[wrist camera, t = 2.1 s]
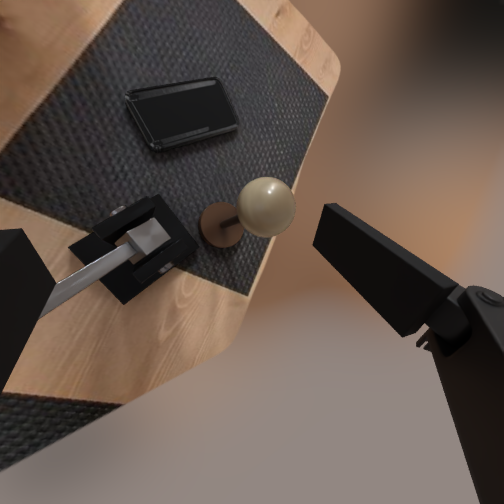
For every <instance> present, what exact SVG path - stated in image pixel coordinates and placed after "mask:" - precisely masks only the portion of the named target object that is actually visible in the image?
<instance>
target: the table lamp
mask: <svg viewBox="0 0 504 504" xmlns="http://www.w3.org/2000/svg"><path fill="white" fill-rule="evenodd" d="M236 208H237V209H236ZM236 208H235V207H234V206H232V205H231V204H228V203H225V202H217V203H213V204H211V205H210V206H208V207H207V208H206V209H205V210H204V211H203V212H202V213H201V215H200V217H199V222H198V228H199V232H200V235H201V237H202V238H203V239H204V241H205V242H206V243H208V244H209V245H211V246H213V247H216V248H226V247H230V246H233V245H234V244H236V243H237V242H238V241H239V240H240V238H241V237H242V234H243V230H244V228H245V229H246V230H247V231H248V232H250V233H251V234H253V235H256V236H259V237H273V236H276V235H278V234H280V233H282V232H283V231H285V230H286V229H287V228H288V227H289V225H290V224H291V222H292V220H293V218H294V215H295V210H296V203H295V198H294V195H293V193H292V191H291V190H290V188H289V187H288V186H287V185H286V184H285V183H283V182H282V181H280V180H278V179H276V178H272V177H261V178H257V179H255V180H253V181H251V182H249V183H248V184H247V185H246V186H245V187H244V188H243V189H242V191H241V192H240V194H239V197H238V200H237V207H236Z"/></svg>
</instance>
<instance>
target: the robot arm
mask: <svg viewBox="0 0 504 504" xmlns="http://www.w3.org/2000/svg"><path fill="white" fill-rule="evenodd" d="M313 246H314V247H315V248H316V249H317V250H318V251H319V252H320V254H322V256H323V257H324V258H325V259H326V260H327V261H328V262H329V263H330V264H331V265H332V266H333V267H334V268H335V269H336V270H337V271H338V272H339V273H340V274H341V275H342V276H343V277H344V278H345V279H346V280H347V281H348V282H349V283H350V284H351V285H352V286H353V287H354V288H355V289H356V291H358V292H359V294H360V295H361V296H363V298H364V299H365V300H366V301H367V302H368V303H369V304H370V305H371V306H372V307H373V308H374V309H375V310H376V311H377V312H378V313H379V314H380V315H381V316H382V317H383V318H384V319H385V320H386V321H387V322H388V323H389V324H390V325H391V326H392V328H393V329H394V330H396V332H397V333H398V334H399V335H400V336H401V337H405V336H408V335H411V334H414V333H416V332H417V331H418V330H419V329H420V328H421V326H422V325H423V324H424V323H425V324H426V325H427V326H428V327H430V328H429V329H428V330H427V331H426V332H425V333H424V334H423V335H422V337H420V339H419V340H418V341H417V342H416V347H420V346H421V345H422V344H423V343H424V342H425V341H428V343H427V344H426V345H425V346H424V349H425V350H428V351H431V352H432V355H433V358H434V362H435V365H436V368H437V371H438V374H439V377H440V380H441V383H442V386H443V390H444V393H445V396H446V399H447V402H448V405H449V408H450V411H451V415H452V417H453V421H454V424H455V427H456V430H457V433H458V437H459V440H460V443H461V446H462V449H463V452H464V455H465V458H466V462H467V465H468V468H469V471H470V474H471V477H472V480H473V483H474V486H475V490H476V493H477V496H478V499H479V502H480V504H504V297H502V296H501V295H499V294H497V293H495V292H493V291H491V290H489V289H486V288H483V287H479V286H468V287H467V288H466V289H465V288H463V287H462V286H460V285H459V284H458V283H456V282H455V281H453V280H452V279H450V278H449V277H447V276H446V275H444V274H443V273H441V272H440V271H438V270H437V269H435V268H433V267H432V266H430V265H429V264H427V263H426V262H424V261H423V260H421V259H420V258H418V257H417V256H415V255H414V254H412V253H411V252H409V251H408V250H406V249H405V248H403V247H402V246H400V245H399V244H397V243H396V242H394V241H393V240H391V239H390V238H388V237H386V236H385V235H383V234H382V233H380V232H379V231H377V230H376V229H374V228H373V227H371V226H370V225H368V224H367V223H365V222H364V221H362V220H361V219H359V218H358V217H356V216H355V215H353V214H352V213H350V212H349V211H347V210H346V209H344V208H342V207H341V206H339V205H338V204H337V203H331V204H324V207H323V211H322V214H321V218H320V221H319V224H318V228H317V231H316V235H315V238H314V241H313ZM55 285H56V282H55V280H54V278H53V277H52V275H51V274H50V272H49V270H48V269H47V267H46V266H45V264H44V262H43V261H42V259H41V258H40V256H39V255H38V253H37V251H36V250H35V248H34V247H33V245H32V243H31V242H30V240H29V239H28V237H27V235H26V234H25V232H24V231H23V229H22V228H20V229H7V230H0V395H1V393H2V391H3V389H4V387H5V385H6V383H7V381H8V379H9V377H10V375H11V373H12V371H13V369H14V367H15V365H16V363H17V361H18V359H19V357H20V355H21V353H22V351H23V349H24V347H25V345H26V343H27V341H28V339H29V337H30V335H31V333H32V331H33V329H34V327H35V325H36V323H37V321H38V319H39V317H40V315H41V313H42V311H43V309H44V307H45V305H46V303H47V301H48V299H49V297H50V295H51V293H52V291H53V289H54V287H55Z"/></svg>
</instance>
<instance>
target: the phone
mask: <svg viewBox="0 0 504 504" xmlns="http://www.w3.org/2000/svg"><path fill="white" fill-rule="evenodd" d="M125 102H126V106H127V108H128V110H129V112H130V113H131V115H132V117H133V119H134V121H135V123H136V125H137V126H138V128H139V130H140V132H141V134H142V136H143V138H144V139H145V141H146V143H147V145H148V147H149V148H150V149H151V150H152V151H154V152H163V151H166V150H169V149H173V148H176V147H180V146H183V145H186V144H190V143H193V142H197V141H200V140H203V139H207V138H210V137H213V136H217V135H220V134H224V133H227V132H230V131H234V130H235V129H236V128H237V126H238V125H239V118H238V116H237V114H236V111H235V109H234V107H233V105H232V102H231V100H230V98H229V96H228V93H227V91H226V89H225V87H224V84H223V83H222V81H221V80H220V79H219V78H217V77H210V78H204V79H198V80H191V81H185V82H179V83H173V84H166V85H160V86H154V87H148V88H141V89H135V90H130V91H128V92H126V94H125Z"/></svg>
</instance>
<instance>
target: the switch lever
mask: <svg viewBox="0 0 504 504" xmlns="http://www.w3.org/2000/svg"><path fill="white" fill-rule="evenodd" d="M170 239H171V237H170V236H169V235H168V234H167V233H166V231H165V230H164V229H163V228H162V226H161V225H160V224H159V223H158V221H157V220H156V219H155V218H154V217H153V218H151V219H149V220H147V221H146V222H144V223H142V224H140V225H138V226H136V227H135V228H133V229H131V230H129V231H127V232H126V233H125V234H124V235H123V236H122V237H121V238H119V239H118V240H117V241H116V242H115V244H116V246H117V248H116V249H114V250H112V251H111V252H109V253H107V254H105V255H104V256H102V257H100V258H99V259H97V260H95V261H94V262H92V263H90V264H88V265H87V266H85V267H83V268H82V269H80V270H78V271H77V272H75V273H73V274H71V275H70V276H68V277H66V278H65V279H63V280H61V281H60V282H58V283H56V285H55V287H54V289H53V291H52V293H51V295H50V297H49V299H48V301H47V303H46V305H45V307H44V309H43V311H42V313H41V315H40V317H39V319H40V318H42V317H43V316H45V315H46V314H48V313H49V312H51V311H52V310H54V309H55V308H57V307H58V306H60V305H61V304H63V303H64V302H66V301H67V300H69V299H70V298H72V297H73V296H75V295H76V294H78V293H79V292H81V291H82V290H84V289H85V288H87V287H88V286H90V285H91V284H93V283H94V282H96V281H97V280H99V279H100V278H102V277H103V276H105V275H106V274H108V273H109V272H111V271H112V270H114V269H115V268H116V267H118V266H119V265H121V264H122V263H124V262H125V261H127V260H128V259H129V260H130V261H131V262H132V263H133V264H135V263H137V262H138V261H140V260H141V259H143V258H144V257H146V256H147V255H149V254H150V253H151V252H153V251H154V250H156V249H157V248H158V247H160V246H161V245H163V244H164V243H166V242H167V241H168V240H170ZM39 319H38V320H39Z"/></svg>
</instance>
